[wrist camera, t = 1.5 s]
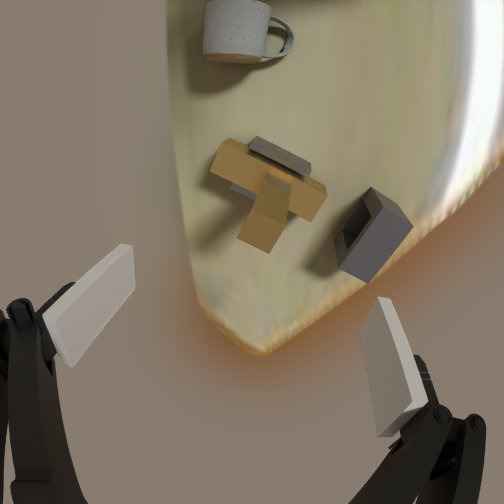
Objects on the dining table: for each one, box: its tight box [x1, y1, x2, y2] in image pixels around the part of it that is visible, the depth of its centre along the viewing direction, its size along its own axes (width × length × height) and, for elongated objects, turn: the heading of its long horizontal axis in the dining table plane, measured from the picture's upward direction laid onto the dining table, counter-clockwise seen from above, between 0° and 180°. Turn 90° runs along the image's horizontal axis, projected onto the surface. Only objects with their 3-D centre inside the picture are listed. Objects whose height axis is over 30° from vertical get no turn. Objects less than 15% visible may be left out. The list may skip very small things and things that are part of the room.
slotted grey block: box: [335, 187, 413, 283], centre depth 36 cm, size 10×5×7 cm, turn 155°
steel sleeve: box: [230, 136, 311, 200], centre depth 36 cm, size 7×8×4 cm
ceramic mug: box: [203, 0, 295, 64], centre depth 25 cm, size 11×8×8 cm
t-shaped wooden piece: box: [209, 138, 327, 254], centre depth 29 cm, size 4×14×16 cm, turn 65°
